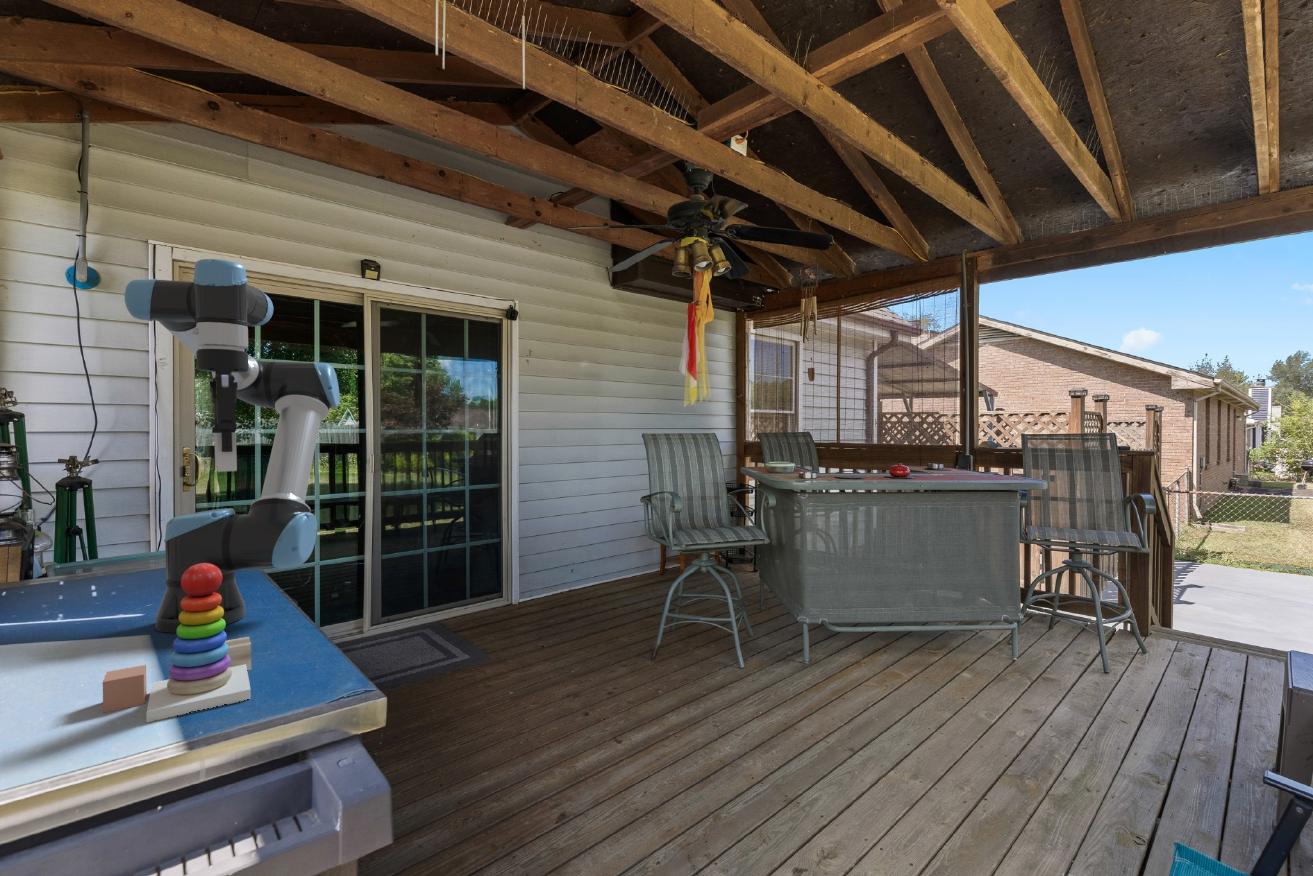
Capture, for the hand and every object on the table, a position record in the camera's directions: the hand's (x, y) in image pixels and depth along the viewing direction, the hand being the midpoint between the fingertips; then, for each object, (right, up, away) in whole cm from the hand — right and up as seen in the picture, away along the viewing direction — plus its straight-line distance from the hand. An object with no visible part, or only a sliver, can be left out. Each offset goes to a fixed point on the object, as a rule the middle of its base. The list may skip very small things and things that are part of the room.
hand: (225, 468), depth 108 cm
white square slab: (+8, -34, -16) cm, 39 cm away
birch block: (+6, -34, -6) cm, 35 cm away
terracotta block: (-2, -34, -19) cm, 39 cm away
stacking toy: (+8, -33, -16) cm, 37 cm away
